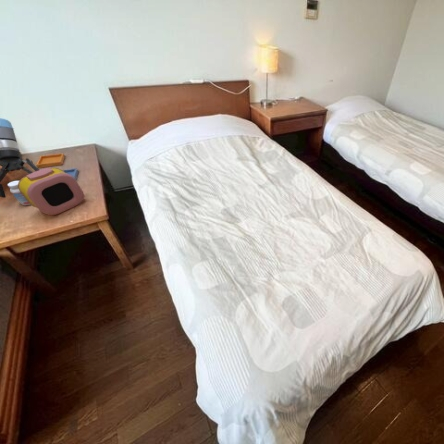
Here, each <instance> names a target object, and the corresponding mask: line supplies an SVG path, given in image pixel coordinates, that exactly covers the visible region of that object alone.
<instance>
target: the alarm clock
mask: <svg viewBox="0 0 444 444" xmlns="http://www.w3.org/2000/svg"><path fill="white" fill-rule="evenodd" d="M63 170H64V169H61V168H59V167H44V168H41V169H39V171H32V172H33V173H31V174H29V173H28V174H27V175H25V176H23V177H21V179H20V180H18V181H19V182H18V188H19V191H20V192H21V193H22V195H23V196H24V197H25V198H26V199H27V200H28V202H29V203H30V205H31V206H32V207H34V208H36V209H38V210H39V211H40V212H41V213H42V214H45V215H49V216H55V215H59V214H61V213H64V212H65V211H68V210H70V209H72V208H74V207H76V206H78V205H79V204H81V203H82V202H83V200H84V199H85V193H84V190H83V189H82V188H81V185H80V184H79V183H78V181H77V179H76V180H75V178H74V177H73V176H72V175H69V174H67V173H65V172H64V171H63Z"/></svg>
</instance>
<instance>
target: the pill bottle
mask: <svg viewBox="0 0 444 444" xmlns="http://www.w3.org/2000/svg"><path fill="white" fill-rule="evenodd" d="M19 181H20V180H13V181H10V182H9V183H7V187H8V188H9V192H10V193H11V194H12V195H13V197H14V198H15V199H16V200H17V202H19V203H20V205H22V206H30V205H31V204H30V203H29V202H28V200H27V199H26V198H25V197H24V196H23V195H22V193H21V192H20V191H19V188H18V182H19Z"/></svg>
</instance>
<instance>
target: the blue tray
mask: <svg viewBox="0 0 444 444" xmlns="http://www.w3.org/2000/svg"><path fill="white" fill-rule="evenodd" d="M62 170H63V171H64V172H65V173H67V174H69V175H72V176H73V177H74V178H75V180H76V181H77V178H78V175H79V169H78V168H77V167H75V168H69V169H62Z"/></svg>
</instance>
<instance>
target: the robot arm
mask: <svg viewBox="0 0 444 444" xmlns="http://www.w3.org/2000/svg"><path fill="white" fill-rule="evenodd" d="M21 153H22V152H21V151H20V147H19V143H18V140H17V136H16V132H15V130H14V127H13V125H12V123H11V121H9V120H8V119H5V118H1V117H0V167H1V168H0V198H3V199H4V198H7V196H6V192H5V189H4V186H3V184H2V183H1V182H2V181H3V180H4V178H5V177H6V175H7V174H8V173H10V172H15V171H20V170H23V171H24V172H25V173H28V175H29V174H31V173H33V172H36V171H39V170H40V168H38V167H37V166H36V164H34V162H33V160H32V159H29V158H27V157H26V158H25V159H23V156H22V154H21ZM25 164H27V165H28V166H29V167H30V168H31V169H32V170H34V171H32V170H30V169H29V168H27V167H25V166H24V165H25Z"/></svg>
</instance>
